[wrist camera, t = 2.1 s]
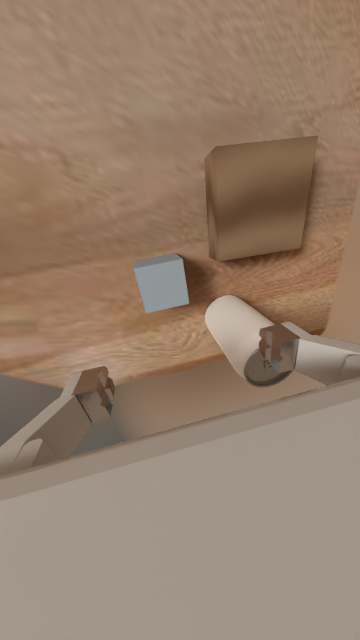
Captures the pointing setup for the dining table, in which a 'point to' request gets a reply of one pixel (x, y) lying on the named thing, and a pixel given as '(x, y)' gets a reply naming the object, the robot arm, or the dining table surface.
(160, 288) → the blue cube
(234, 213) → the walnut block
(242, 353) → the can
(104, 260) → the dining table surface
